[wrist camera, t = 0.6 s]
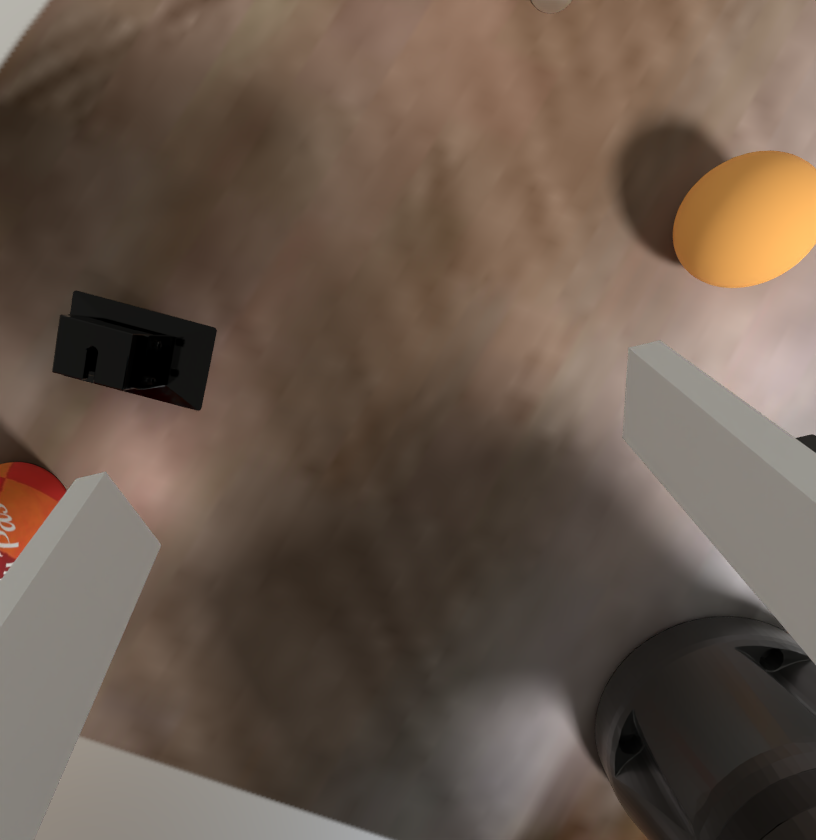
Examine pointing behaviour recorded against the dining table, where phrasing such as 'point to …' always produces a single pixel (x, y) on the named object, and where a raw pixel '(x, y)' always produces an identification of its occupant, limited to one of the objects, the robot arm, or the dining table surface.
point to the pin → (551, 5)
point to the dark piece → (134, 350)
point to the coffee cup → (24, 506)
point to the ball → (748, 219)
